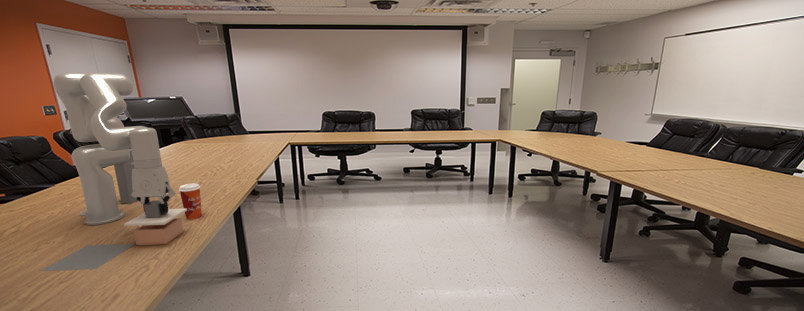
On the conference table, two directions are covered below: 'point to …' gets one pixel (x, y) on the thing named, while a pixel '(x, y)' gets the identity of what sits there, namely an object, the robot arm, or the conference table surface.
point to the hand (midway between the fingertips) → (156, 213)
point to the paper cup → (191, 200)
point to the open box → (158, 233)
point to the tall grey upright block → (125, 180)
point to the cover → (154, 215)
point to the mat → (88, 257)
